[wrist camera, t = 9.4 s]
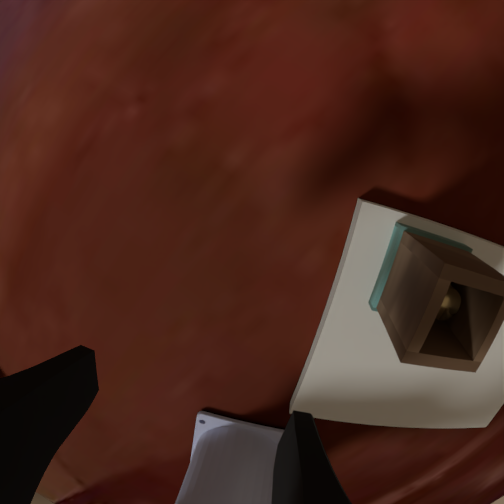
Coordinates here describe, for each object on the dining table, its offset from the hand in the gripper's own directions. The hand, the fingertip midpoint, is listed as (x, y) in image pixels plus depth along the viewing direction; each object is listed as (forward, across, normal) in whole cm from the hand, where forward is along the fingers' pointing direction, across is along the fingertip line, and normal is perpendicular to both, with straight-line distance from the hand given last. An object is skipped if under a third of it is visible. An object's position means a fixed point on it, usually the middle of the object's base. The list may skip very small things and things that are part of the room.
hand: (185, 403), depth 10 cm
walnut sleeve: (+9, -10, -4) cm, 14 cm away
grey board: (+10, -15, 0) cm, 18 cm away
